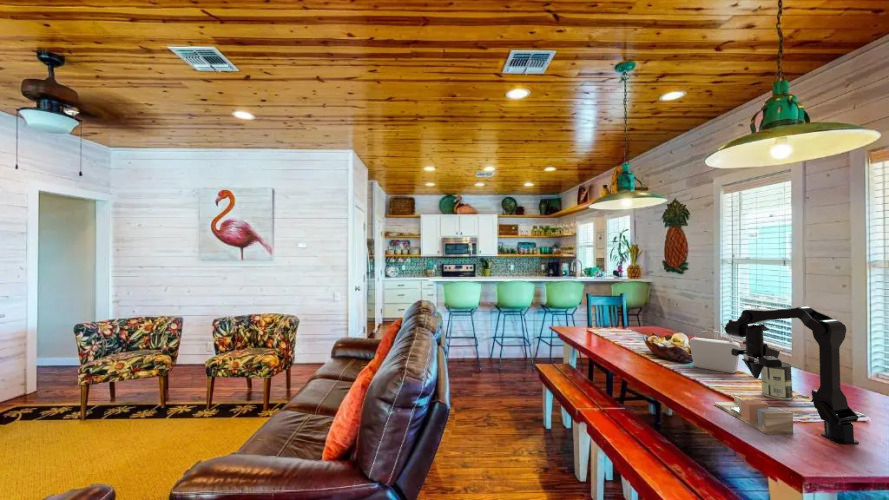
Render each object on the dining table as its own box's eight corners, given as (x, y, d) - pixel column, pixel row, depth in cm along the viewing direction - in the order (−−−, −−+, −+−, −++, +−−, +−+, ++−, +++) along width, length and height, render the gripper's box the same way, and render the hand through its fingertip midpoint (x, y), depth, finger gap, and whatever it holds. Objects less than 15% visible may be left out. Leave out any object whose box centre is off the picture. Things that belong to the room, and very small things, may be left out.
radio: (742, 371, 195) (740, 323, 195) (739, 375, 189) (737, 326, 189) (693, 363, 211) (691, 319, 211) (689, 366, 205) (687, 321, 205)
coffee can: (782, 391, 166) (780, 360, 166) (799, 400, 156) (797, 367, 156) (756, 390, 168) (754, 359, 168) (771, 399, 158) (769, 366, 158)
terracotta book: (768, 420, 137) (768, 403, 137) (749, 420, 137) (748, 404, 138) (759, 415, 141) (759, 399, 141) (741, 415, 141) (740, 400, 142)
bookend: (759, 414, 141) (759, 400, 141) (741, 415, 141) (740, 400, 142) (747, 408, 147) (747, 394, 147) (729, 408, 147) (729, 394, 147)
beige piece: (793, 434, 128) (792, 412, 128) (767, 434, 129) (766, 413, 129) (736, 404, 154) (735, 386, 154) (714, 404, 155) (713, 386, 155)
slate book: (785, 428, 130) (784, 411, 131) (765, 429, 131) (764, 412, 131) (777, 424, 133) (777, 408, 134) (758, 425, 134) (757, 408, 134)
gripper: (795, 344, 141) (797, 385, 141) (755, 334, 160) (757, 370, 160) (766, 345, 141) (767, 386, 141) (729, 335, 160) (731, 371, 160)
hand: (756, 378), depth 150 cm, fingers closed
